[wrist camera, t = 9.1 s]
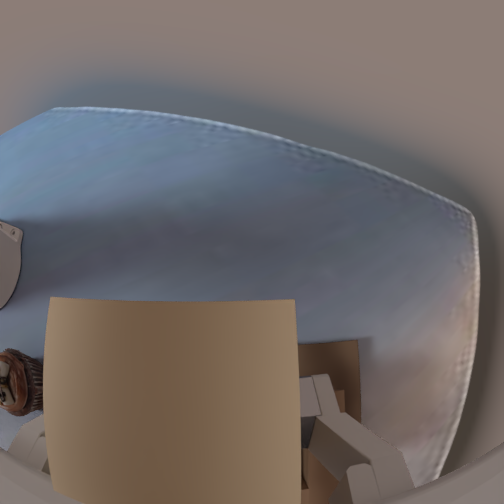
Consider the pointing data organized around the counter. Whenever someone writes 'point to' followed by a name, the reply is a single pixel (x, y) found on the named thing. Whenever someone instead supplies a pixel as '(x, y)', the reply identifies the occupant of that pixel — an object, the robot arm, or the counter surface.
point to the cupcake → (20, 383)
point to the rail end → (173, 401)
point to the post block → (348, 398)
